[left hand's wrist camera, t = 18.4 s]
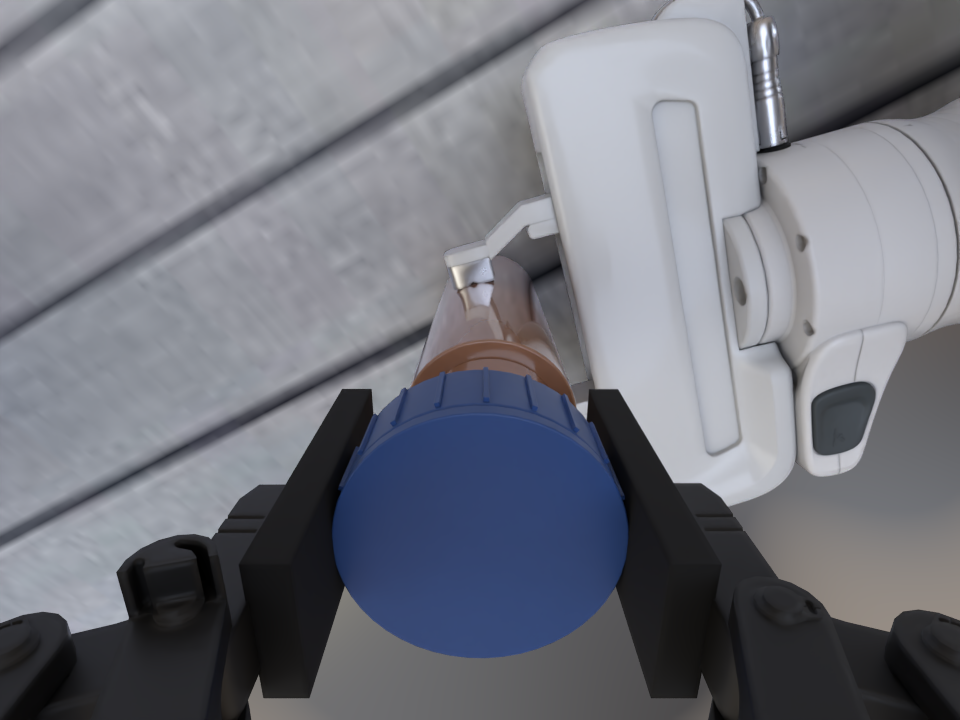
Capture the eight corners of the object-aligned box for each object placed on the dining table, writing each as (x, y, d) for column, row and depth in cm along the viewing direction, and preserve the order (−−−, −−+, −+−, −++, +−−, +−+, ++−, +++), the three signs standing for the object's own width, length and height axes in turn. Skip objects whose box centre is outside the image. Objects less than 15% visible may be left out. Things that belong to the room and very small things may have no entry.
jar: (424, 301, 30) (351, 457, 14) (489, 233, 29) (489, 322, 13) (490, 361, 31) (491, 570, 15) (555, 299, 30) (630, 455, 14)
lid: (642, 535, 13) (672, 606, 11) (424, 614, 14) (414, 693, 12) (549, 322, 11) (564, 358, 9) (305, 428, 12) (269, 483, 10)
